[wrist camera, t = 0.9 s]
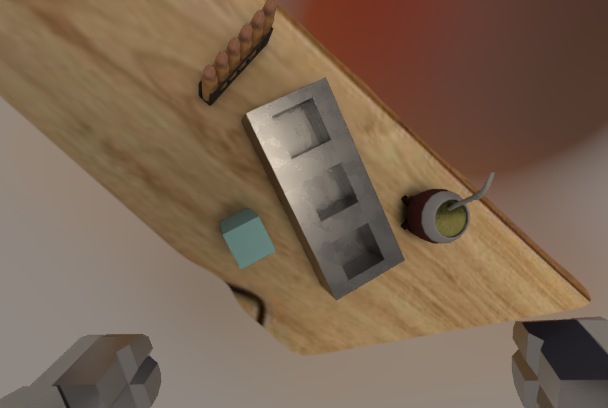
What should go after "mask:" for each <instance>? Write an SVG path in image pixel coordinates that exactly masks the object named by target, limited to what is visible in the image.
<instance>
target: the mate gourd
mask: <svg viewBox="0 0 608 408" xmlns="http://www.w3.org/2000/svg"><path fill="white" fill-rule="evenodd" d="M494 174H495V172H491V173H490V175H489V177H488V179H487V181H486V183H485V185H484V187H483V188H482V189H481V191H477V192H476V193H474V194H473V195H472V196H470V197H468V198H465V199H462V198H461V197H460V196H459V195H458V194H455V193H453V192H451V191H448V190H445V189H430V190H427V191H425V192H422V193H420V194H418V195H416V196H412V197H409V198H408V197H407V196H403V197H402V199H401V200H402V201H403V202H404V203H405V204H406V206H407V207H408V213H407V219H406V220H405V221H404V223H403V224H402V225H401V227H402V228H403V229H404V230H406V229H408V230H409V231H410V232H411V233H413V234H415V235H416V236H418V237H419V238H421V239H424V240H426V241H428V242H431V243H450V242H452V241H454V240H456V239H458V238H459V237H461V235H462V234H463V233H464V232H465V231H466V229H467V227H468V224H469V217H470V213H469V210H468V207H467V205H466V203H468V202H471V201H473V200H478V199H480V198H482V197H483V196H484V194H485V193H486V191H487V190H488V188H489V187H490V184H491V182H492V179H493V177H494Z"/></svg>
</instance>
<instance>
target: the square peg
mask: <svg viewBox="0 0 608 408" xmlns="http://www.w3.org/2000/svg"><path fill="white" fill-rule="evenodd" d="M220 226H221V231H222V235H223V237H224V239H225V241H226V243H227V244H228V246H229V248H230V250H231V252H232V254H233V256H234V258H235V260H236V261H237V263H238V265H239V267H240V269H243V268H245V267H247V266H249V265H251V264H252V263H254V262H256V261H258V260H260V259H262V258H264V257H265V256H267V255H269V254H271V253H273V252H275V251H276V249H275V247H274V245H273V243H272V241H271V239H270V237H269V235H268V233H267V231H266V229H265V227H264V225H263V223H262V221H261V219H260V217H259V216H258V215H257V214H256V213H254V212H253V211H252V210H251V209H250V208H246V209H244V210H242V211H240V212H238V213H236V214H234V215H233V216H231V217H229V218H227V219H225V220H223V221H221V222H220Z"/></svg>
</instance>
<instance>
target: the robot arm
mask: <svg viewBox="0 0 608 408" xmlns="http://www.w3.org/2000/svg"><path fill="white" fill-rule="evenodd" d="M513 339H514V341H515V343H516V345H517V346H518V348H519V349H518V350H517V351H516V352H515V353H514V355H513V356H512V374H513V379H514V384H515V387H516V390H517V393H518V396H519V397H520V400H521V402H522V404H523V406H524V407H525V408H608V320H606V319H604V318H602V317H584V318H571V319H562V320H538V321H516V322H515V324H514V327H513ZM152 349H153V347H152V345H151V342H150V340H149V337H148V336H146V335H143V334H110V335H109V334H107V335H87V336H84V337H81V338H80V339H79V340H78V341H77V342H75V343H74V344H73V345H72V346H71V347H70V348H69V349H68V350H67V351H66V352H65V353H64V354H63V355H62V356H61V357H60V358H59V359H58V360H57V361H55V362H54V363H53V364H52V365H51V366H50V367H49V368H48V369H47V370H46V371H45V372H44V373H43V374H42V375H41V376H40V377H39V378H38V379H37V380H35V381H34V382H33V383H32V384H31V385H30V386H24V387H21V388H19V389H18V390H16V391H14V392H12V393H10V394H8V395H6V396H5V397H3V398H1V399H0V408H150V407H151V406H152V404H153V402H154V401H155V399H156V397H157V396H158V392H159V388H160V384H161V373H160V368H159V365H158V363H157V362H156V361H155V360H154V359H152V358H151V357H150V354H151V351H152Z"/></svg>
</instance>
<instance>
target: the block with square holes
mask: <svg viewBox="0 0 608 408" xmlns="http://www.w3.org/2000/svg"><path fill="white" fill-rule="evenodd" d="M241 122H242V124H243V126H244V128H245V130H246V132H247V134H248V136H249V138H250V140H251V142H252V144H253V146H254V148H255V150H256V152H257V154H258V157H259V159H260V161H261V163H262V165H263V167H264V169H265V171H266V173H267V175H268V177H269V179H270V181H271V183H272V185H273V187H274V189H275V191H276V193H277V195H278V198H279V200H280V202H281V204H282V206H283V208H284V210H285V212H286V214H287V216H288V218H289V220H290V222H291V224H292V226H293V228H294V230H295V232H296V234H297V236H298V239H299V241H300V243H301V245H302V247H303V249H304V251H305V253H306V255H307V257H308V259H309V261H310V263H311V265H312V267H313V269H314V271H315V273H316V275H317V277H318V280H319V282H320V284H321V286H322V287H323V288H324V289H325V290H326V291H327V292H328V293H329V294H330V295H331V296H332V297H333V298H334V299H335V300H338V299H340V298H341V297H343V296H345V295H346V294H348V293H350V292H351V291H353V290H355V289H357V288H358V287H360V286H362V285H363V284H365V283H367V282H368V281H370V280H372V279H374V278H375V277H377V276H379V275H380V274H382V273H384V272H385V271H387V270H389V269H391V268H392V267H394V266H396V265H397V264H399V263H401V262H402V261H404V260H405V259H404V257H403V255H402V252H401V250H400V248H399V246H398V243H397V241H396V239H395V236H394V234H393V232H392V229H391V227H390V225H389V222H388V220H387V218H386V215H385V213H384V211H383V209H382V206H381V204H380V202H379V199H378V197H377V195H376V192H375V190H374V188H373V185H372V183H371V181H370V179H369V176H368V174H367V172H366V169H365V167H364V165H363V162H362V160H361V158H360V155H359V153H358V151H357V148H356V146H355V144H354V142H353V139H352V137H351V135H350V132H349V130H348V128H347V125H346V123H345V121H344V118H343V116H342V114H341V111H340V109H339V107H338V105H337V102H336V100H335V98H334V95H333V93H332V91H331V88H330V86H329V84H328V81H327V79H326V77H325V78H323V79H321V80H319V81H316V82H314V83H312V84H310V85H308V86H305V87H303V88H301V89H299V90H297V91H294V92H292V93H290V94H288V95H285V96H283V97H281V98H279V99H277V100H274V101H272V102H270V103H268V104H265V105H263V106H261V107H259V108H257V109H254V110H252V111H250V112H248V113H246V114H245V116H244V117H243V119H242V121H241Z"/></svg>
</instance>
